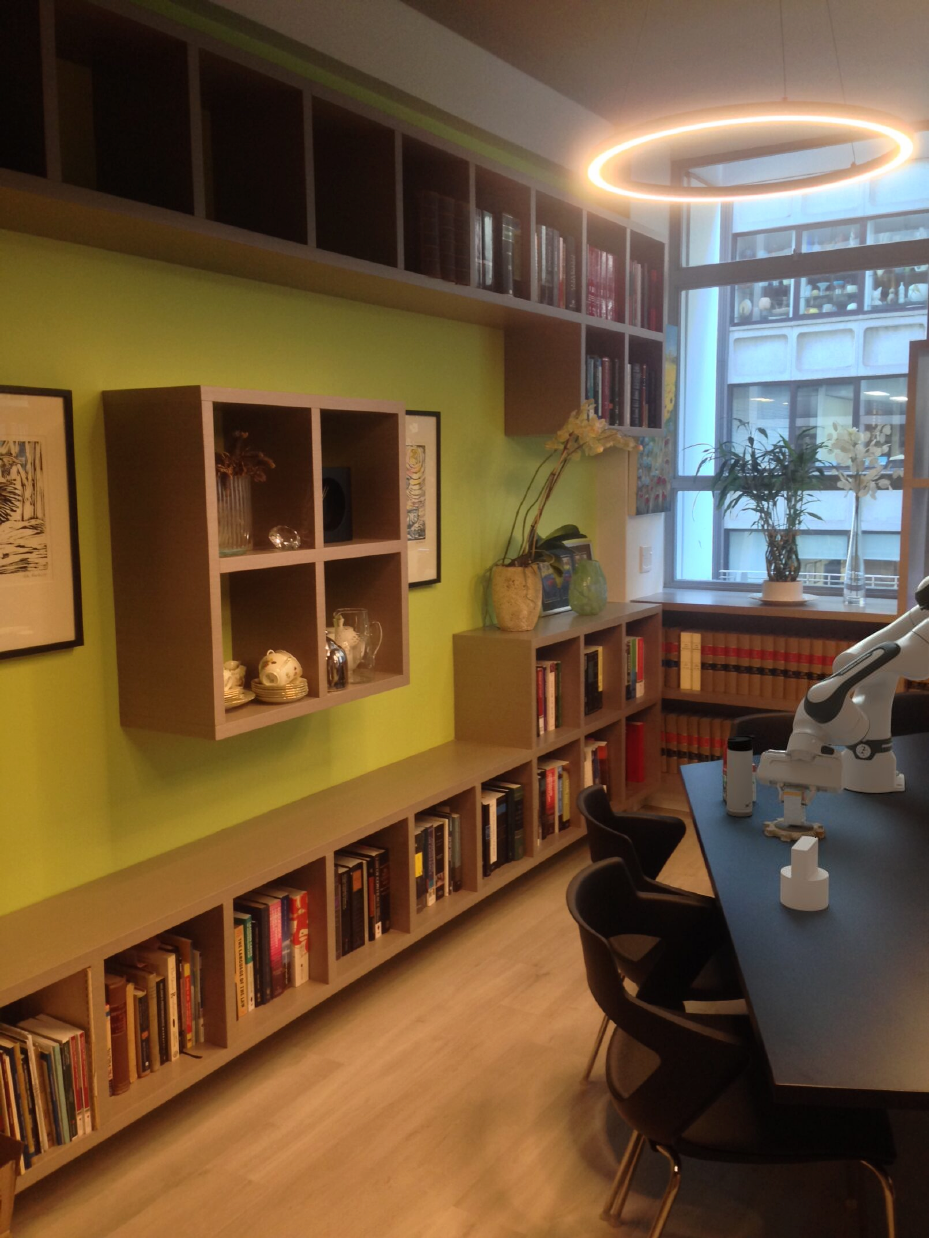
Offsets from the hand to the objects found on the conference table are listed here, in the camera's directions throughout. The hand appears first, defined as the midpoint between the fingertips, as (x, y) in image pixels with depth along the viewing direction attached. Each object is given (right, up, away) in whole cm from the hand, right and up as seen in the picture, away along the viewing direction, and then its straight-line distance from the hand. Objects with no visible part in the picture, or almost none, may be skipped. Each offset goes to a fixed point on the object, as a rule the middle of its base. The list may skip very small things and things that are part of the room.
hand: (793, 803), depth 249 cm
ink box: (-5, -5, +29) cm, 30 cm away
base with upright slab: (-11, -13, -41) cm, 44 cm away
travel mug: (-8, -6, +18) cm, 21 cm away
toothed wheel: (+1, -7, +2) cm, 8 cm away
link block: (+1, -5, +1) cm, 5 cm away
